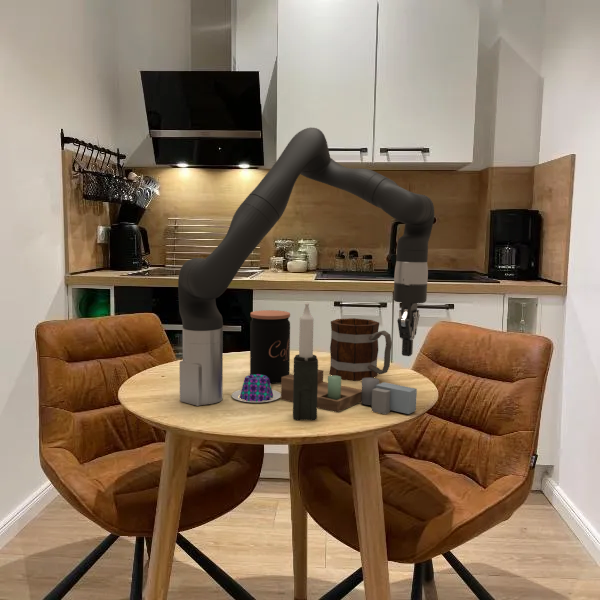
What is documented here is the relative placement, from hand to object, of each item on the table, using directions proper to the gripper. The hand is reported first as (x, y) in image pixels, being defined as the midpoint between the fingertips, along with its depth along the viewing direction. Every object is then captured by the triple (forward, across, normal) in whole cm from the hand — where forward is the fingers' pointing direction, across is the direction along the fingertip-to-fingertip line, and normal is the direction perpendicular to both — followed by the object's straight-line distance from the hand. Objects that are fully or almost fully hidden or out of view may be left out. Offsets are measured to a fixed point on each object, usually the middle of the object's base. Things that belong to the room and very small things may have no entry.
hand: (406, 355), depth 139 cm
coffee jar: (+12, -6, -38) cm, 41 cm away
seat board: (+12, +6, -18) cm, 23 cm away
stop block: (+12, +9, -4) cm, 15 cm away
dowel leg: (+12, +10, -14) cm, 21 cm away
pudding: (+12, +10, -34) cm, 37 cm away
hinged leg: (+11, +5, -3) cm, 13 cm away
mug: (+12, -20, -16) cm, 28 cm away
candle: (+12, +19, -18) cm, 29 cm away
